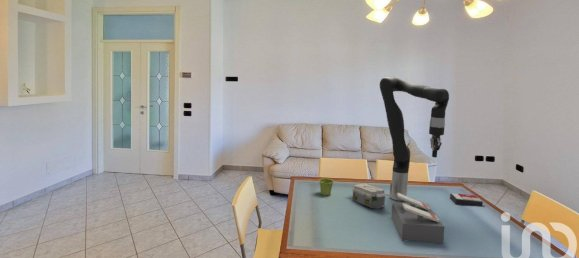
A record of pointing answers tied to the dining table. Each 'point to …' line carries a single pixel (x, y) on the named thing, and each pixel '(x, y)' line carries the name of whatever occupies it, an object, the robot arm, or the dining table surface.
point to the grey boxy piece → (369, 195)
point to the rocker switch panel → (416, 225)
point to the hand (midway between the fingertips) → (434, 157)
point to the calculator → (465, 199)
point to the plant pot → (326, 186)
